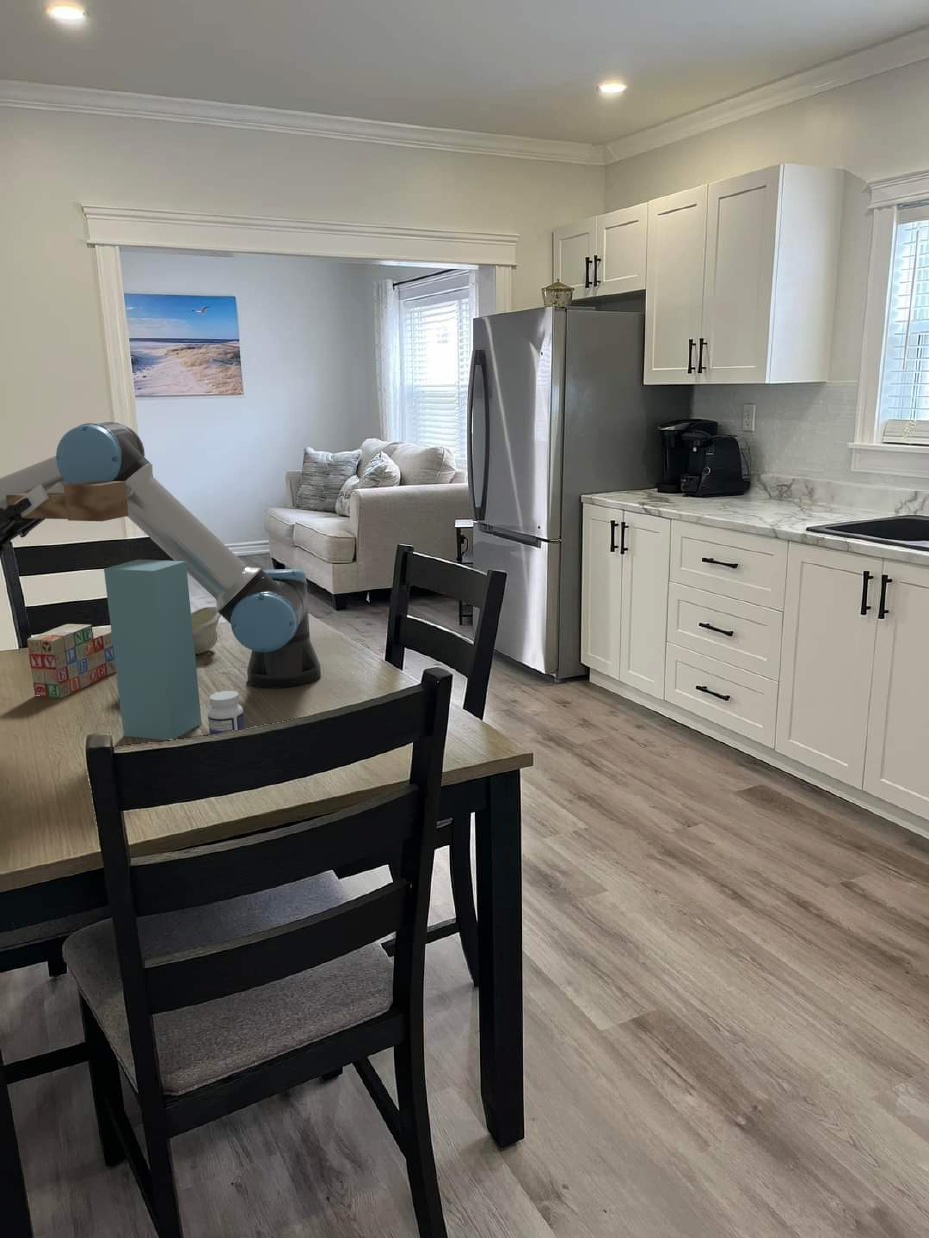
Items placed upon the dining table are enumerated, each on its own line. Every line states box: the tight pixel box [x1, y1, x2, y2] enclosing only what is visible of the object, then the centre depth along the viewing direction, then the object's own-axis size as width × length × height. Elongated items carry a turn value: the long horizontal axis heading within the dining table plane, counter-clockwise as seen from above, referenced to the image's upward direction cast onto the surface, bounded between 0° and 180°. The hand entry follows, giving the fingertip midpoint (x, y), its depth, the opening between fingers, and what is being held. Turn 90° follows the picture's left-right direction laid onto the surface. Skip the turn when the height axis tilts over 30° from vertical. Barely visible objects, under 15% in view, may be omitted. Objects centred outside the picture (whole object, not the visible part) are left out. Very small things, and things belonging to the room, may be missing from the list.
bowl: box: [191, 606, 221, 655], centre depth 215 cm, size 15×14×10 cm
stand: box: [103, 559, 203, 741], centre depth 163 cm, size 10×9×30 cm
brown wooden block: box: [6, 481, 129, 522], centre depth 162 cm, size 21×7×6 cm, turn 72°
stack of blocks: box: [26, 623, 116, 699], centre depth 195 cm, size 21×6×12 cm, turn 165°
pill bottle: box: [207, 690, 246, 735], centre depth 155 cm, size 6×6×10 cm
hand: (53, 490), depth 162 cm, fingers closed on brown wooden block, 4 cm apart
